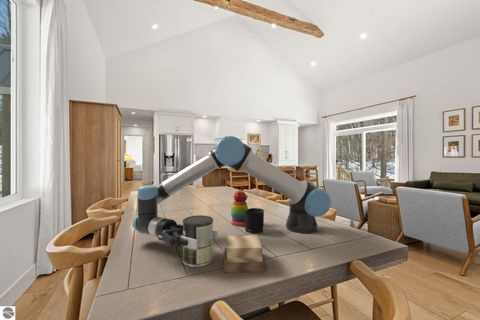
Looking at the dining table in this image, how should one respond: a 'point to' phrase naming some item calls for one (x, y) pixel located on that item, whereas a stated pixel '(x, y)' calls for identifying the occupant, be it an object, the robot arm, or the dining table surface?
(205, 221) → the coffee can
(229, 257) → the plinth
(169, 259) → the dining table surface
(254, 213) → the pen holder
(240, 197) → the stacking bear
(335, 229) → the dining table surface
